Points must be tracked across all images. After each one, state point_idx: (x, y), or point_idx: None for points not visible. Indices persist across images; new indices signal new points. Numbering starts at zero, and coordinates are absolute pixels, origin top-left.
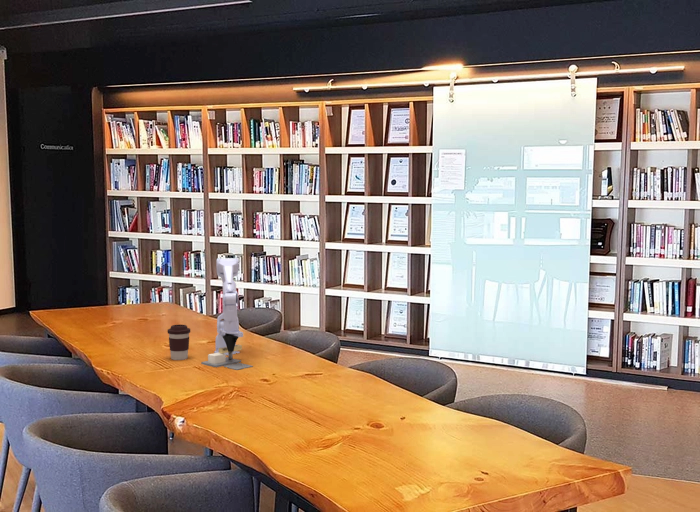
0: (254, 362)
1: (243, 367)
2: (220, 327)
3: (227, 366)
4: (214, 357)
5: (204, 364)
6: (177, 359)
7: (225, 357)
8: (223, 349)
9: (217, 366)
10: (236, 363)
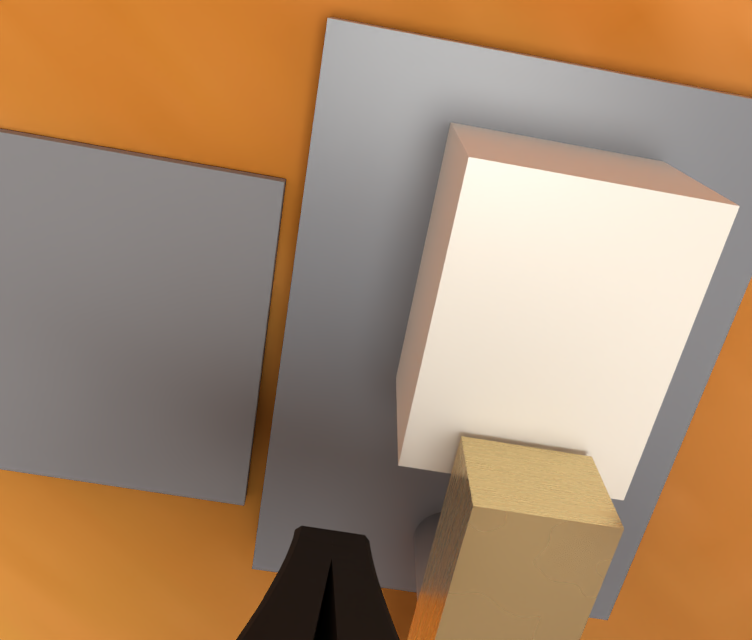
0: (125, 634)
1: None
2: None
3: (198, 205)
4: (468, 150)
5: (701, 87)
6: None
7: (397, 418)
8: (462, 523)
9: (322, 61)
10: (245, 449)
